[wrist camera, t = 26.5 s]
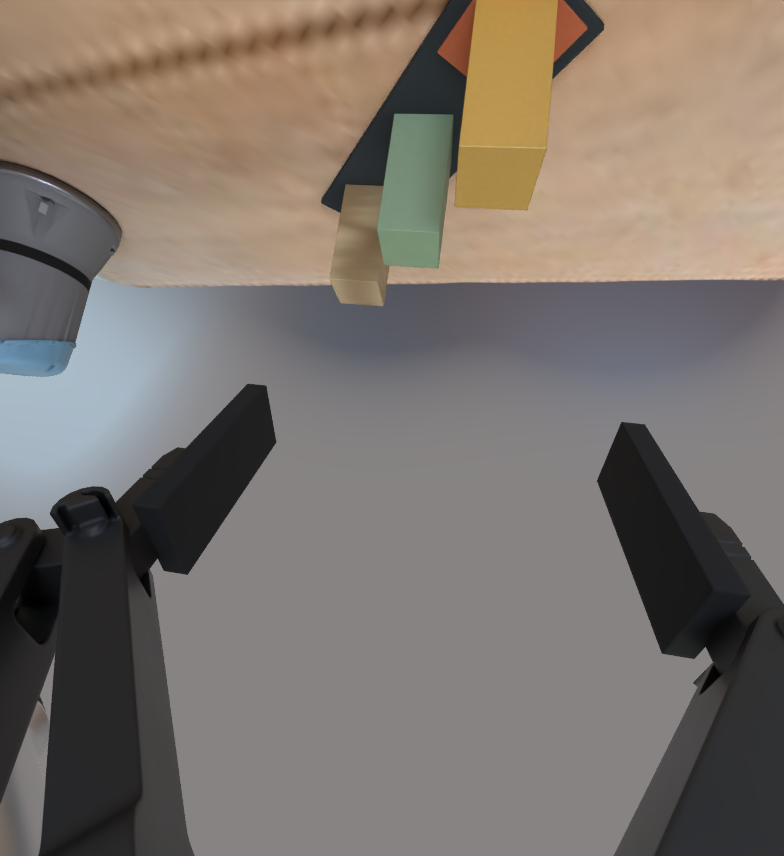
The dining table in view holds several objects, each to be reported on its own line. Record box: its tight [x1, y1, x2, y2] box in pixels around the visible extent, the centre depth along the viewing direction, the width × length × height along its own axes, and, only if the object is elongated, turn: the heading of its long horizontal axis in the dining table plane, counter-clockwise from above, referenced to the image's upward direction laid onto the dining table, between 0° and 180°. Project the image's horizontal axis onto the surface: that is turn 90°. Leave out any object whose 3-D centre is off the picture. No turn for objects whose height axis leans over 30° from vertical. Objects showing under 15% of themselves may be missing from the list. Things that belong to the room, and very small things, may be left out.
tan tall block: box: [329, 184, 389, 306], centre depth 44 cm, size 5×5×11 cm
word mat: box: [321, 0, 604, 213], centre depth 36 cm, size 28×9×1 cm, turn 149°
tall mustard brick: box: [455, 0, 558, 210], centre depth 27 cm, size 5×5×11 cm
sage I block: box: [377, 114, 454, 269], centre depth 35 cm, size 5×5×11 cm
